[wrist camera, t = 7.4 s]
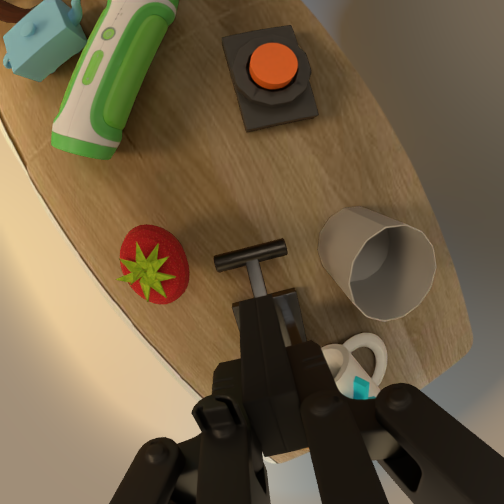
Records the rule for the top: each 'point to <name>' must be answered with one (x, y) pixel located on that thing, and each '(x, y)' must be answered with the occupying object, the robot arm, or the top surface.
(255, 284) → the lever
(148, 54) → the speaker
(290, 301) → the bracket
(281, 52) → the button
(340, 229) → the cup
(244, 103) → the control block
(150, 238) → the strawberry
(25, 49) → the teapot
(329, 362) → the white handled jug
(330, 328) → the top surface
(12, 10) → the knife
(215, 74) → the top surface
